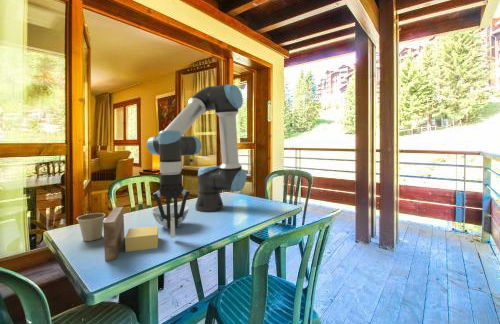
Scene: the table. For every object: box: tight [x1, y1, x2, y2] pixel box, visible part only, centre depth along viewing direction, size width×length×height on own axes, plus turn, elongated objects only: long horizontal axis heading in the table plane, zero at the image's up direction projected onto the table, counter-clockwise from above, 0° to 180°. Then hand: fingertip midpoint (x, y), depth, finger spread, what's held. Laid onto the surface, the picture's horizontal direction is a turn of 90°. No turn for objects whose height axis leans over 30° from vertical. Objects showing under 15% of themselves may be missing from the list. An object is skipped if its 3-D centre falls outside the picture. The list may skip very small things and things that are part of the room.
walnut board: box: [102, 206, 125, 262], centre depth 90 cm, size 3×20×12 cm, turn 18°
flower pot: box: [76, 212, 106, 242], centre depth 99 cm, size 9×9×9 cm
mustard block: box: [124, 225, 159, 253], centre depth 94 cm, size 10×10×5 cm
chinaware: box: [151, 204, 189, 230], centre depth 113 cm, size 15×15×8 cm
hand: (172, 236), depth 97 cm, fingers closed
